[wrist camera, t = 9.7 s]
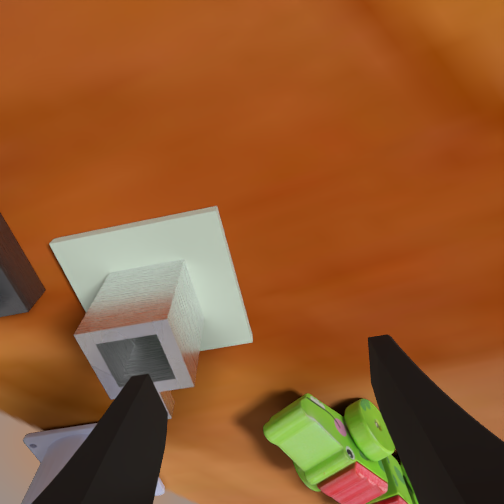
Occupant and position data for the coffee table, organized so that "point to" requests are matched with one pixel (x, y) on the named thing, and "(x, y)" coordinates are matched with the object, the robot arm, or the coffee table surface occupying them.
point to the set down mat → (159, 251)
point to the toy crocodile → (341, 451)
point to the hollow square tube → (144, 329)
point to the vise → (16, 276)
